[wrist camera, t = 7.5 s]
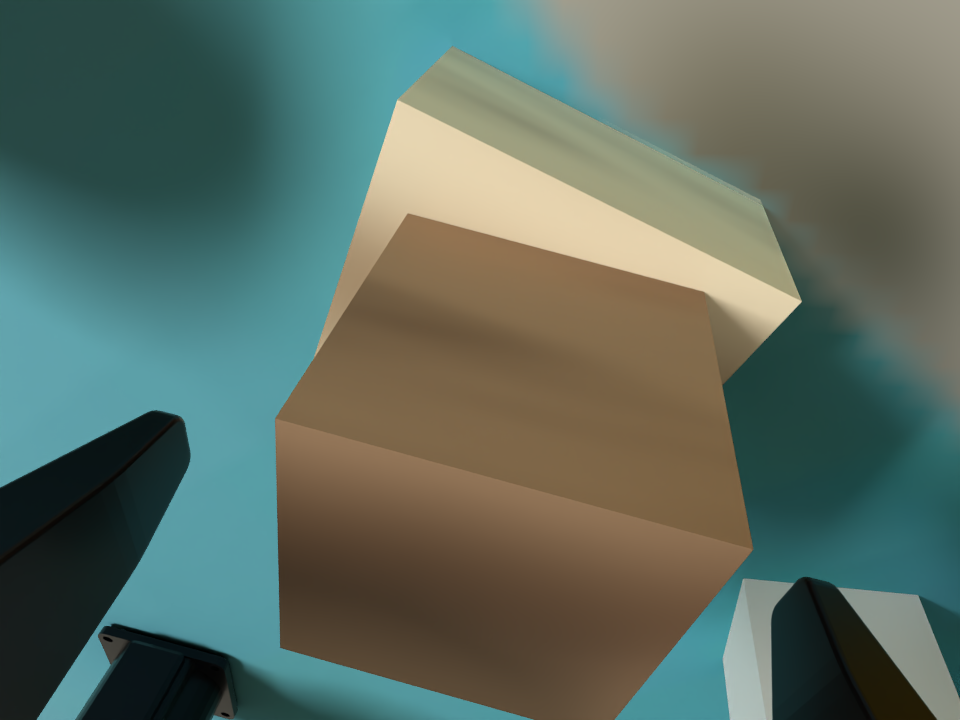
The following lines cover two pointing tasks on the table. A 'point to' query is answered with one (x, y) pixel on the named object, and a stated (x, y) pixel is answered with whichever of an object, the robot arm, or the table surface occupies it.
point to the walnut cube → (507, 477)
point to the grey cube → (883, 613)
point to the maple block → (569, 199)
